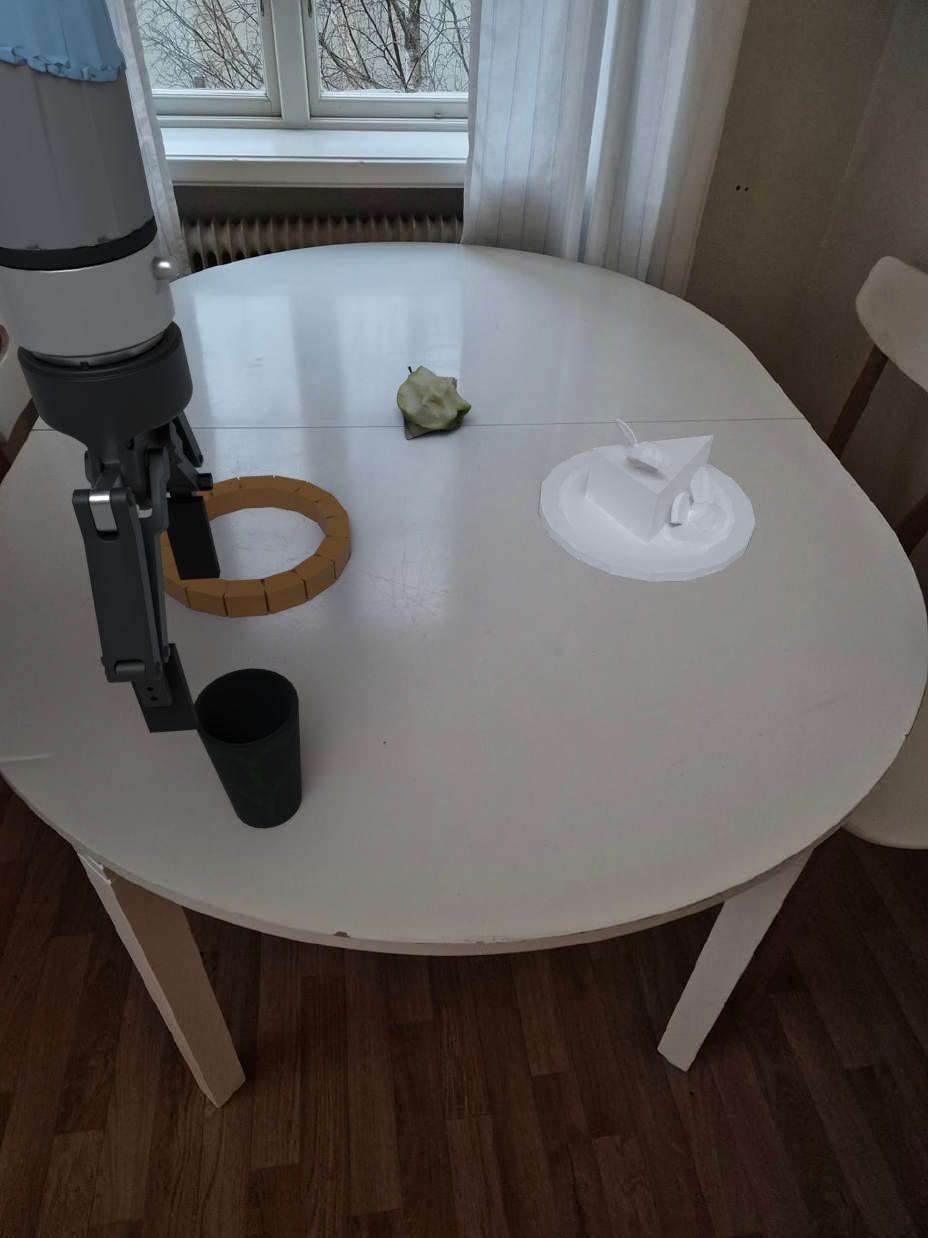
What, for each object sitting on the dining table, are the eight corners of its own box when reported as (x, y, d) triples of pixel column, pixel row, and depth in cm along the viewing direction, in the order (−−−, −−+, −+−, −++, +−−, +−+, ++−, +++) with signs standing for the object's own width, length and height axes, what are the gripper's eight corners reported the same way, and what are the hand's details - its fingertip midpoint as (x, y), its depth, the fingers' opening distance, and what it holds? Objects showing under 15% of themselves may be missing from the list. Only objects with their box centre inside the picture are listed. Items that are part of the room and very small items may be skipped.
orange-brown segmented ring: (142, 623, 86) (135, 602, 84) (169, 499, 101) (163, 480, 99) (352, 609, 88) (350, 589, 86) (348, 490, 103) (346, 471, 101)
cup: (333, 786, 72) (319, 692, 64) (274, 856, 68) (251, 763, 59) (262, 748, 75) (240, 653, 67) (201, 812, 70) (169, 718, 62)
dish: (636, 612, 89) (656, 525, 81) (497, 492, 104) (502, 408, 96) (797, 533, 99) (828, 449, 91) (649, 434, 114) (665, 354, 106)
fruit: (391, 420, 118) (393, 361, 113) (458, 420, 119) (462, 362, 115) (401, 444, 110) (403, 382, 106) (472, 444, 112) (477, 383, 108)
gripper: (134, 476, 32) (230, 802, 47) (206, 232, 50) (259, 523, 65) (-76, 486, 32) (88, 813, 46) (73, 235, 49) (157, 528, 64)
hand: (188, 644), depth 56 cm, fingers open, 13 cm apart
